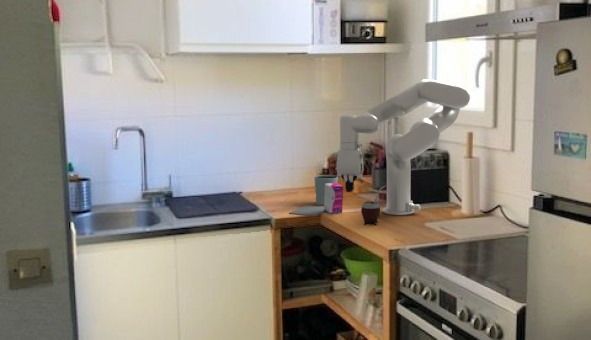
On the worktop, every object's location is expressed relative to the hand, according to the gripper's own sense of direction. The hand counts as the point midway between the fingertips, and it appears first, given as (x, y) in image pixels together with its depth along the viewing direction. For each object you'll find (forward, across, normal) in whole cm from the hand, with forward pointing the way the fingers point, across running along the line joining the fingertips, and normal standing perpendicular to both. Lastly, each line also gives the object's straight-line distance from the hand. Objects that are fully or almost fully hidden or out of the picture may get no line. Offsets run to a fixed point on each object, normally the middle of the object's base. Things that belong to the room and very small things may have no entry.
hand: (349, 191), depth 261 cm
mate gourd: (+9, -14, +12) cm, 21 cm away
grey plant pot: (+10, +17, -14) cm, 24 cm away
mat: (+9, +17, +2) cm, 19 cm away
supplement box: (+9, +7, 0) cm, 12 cm away
